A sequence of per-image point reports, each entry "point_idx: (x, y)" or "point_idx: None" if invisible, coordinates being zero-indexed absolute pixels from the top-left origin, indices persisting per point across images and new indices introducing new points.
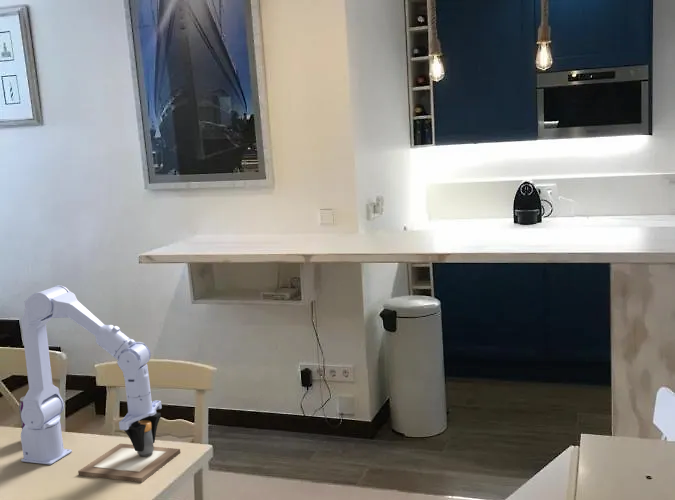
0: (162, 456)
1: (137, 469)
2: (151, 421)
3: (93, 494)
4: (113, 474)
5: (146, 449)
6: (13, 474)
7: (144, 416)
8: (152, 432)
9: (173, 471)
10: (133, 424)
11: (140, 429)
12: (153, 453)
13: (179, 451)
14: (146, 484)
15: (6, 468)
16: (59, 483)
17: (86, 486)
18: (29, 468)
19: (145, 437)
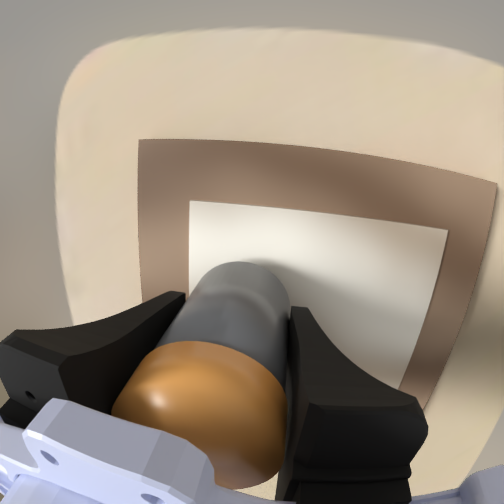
0: (246, 190)
1: (428, 250)
2: (107, 387)
3: None
4: (452, 338)
5: (277, 293)
6: None
7: None
8: (152, 329)
9: (370, 63)
10: (400, 497)
11: (416, 401)
12: (224, 262)
13: (150, 139)
14: (498, 151)
15: None
16: (436, 452)
17: (480, 381)
18: None
19: (269, 339)
